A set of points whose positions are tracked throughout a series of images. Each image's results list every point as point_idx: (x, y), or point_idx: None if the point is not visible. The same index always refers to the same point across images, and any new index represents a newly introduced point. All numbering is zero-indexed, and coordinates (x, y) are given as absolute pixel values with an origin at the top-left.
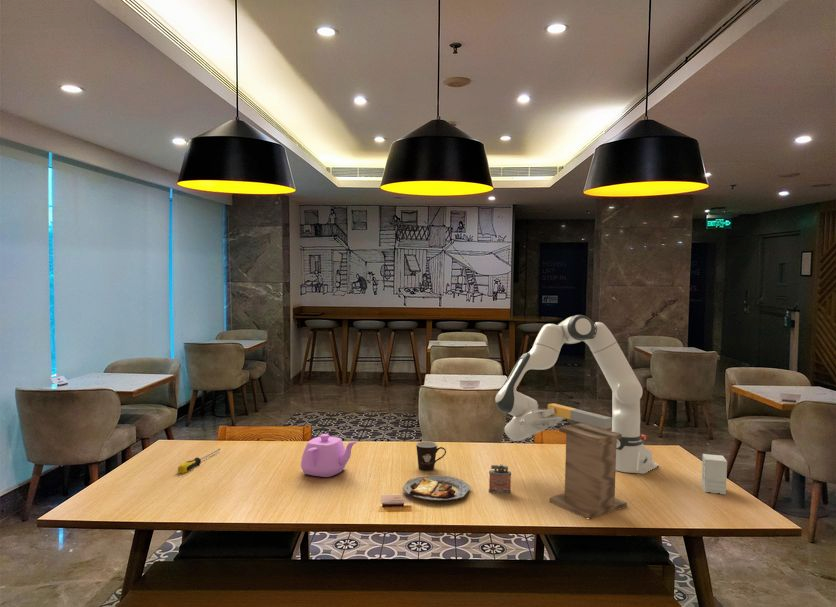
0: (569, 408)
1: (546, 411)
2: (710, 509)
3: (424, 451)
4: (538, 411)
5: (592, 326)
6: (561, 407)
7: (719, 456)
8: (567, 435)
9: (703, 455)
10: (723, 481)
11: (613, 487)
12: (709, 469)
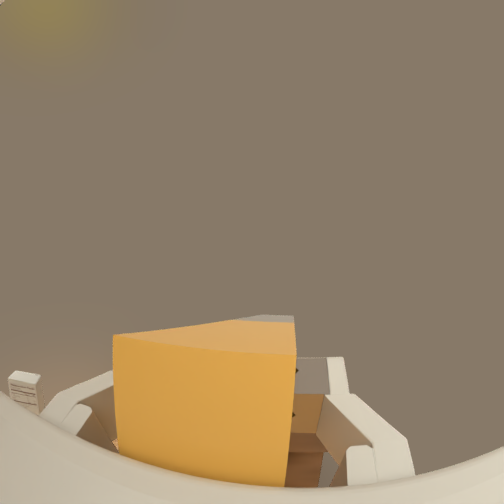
0: (259, 323)
1: (381, 429)
2: (116, 443)
3: None
4: (492, 451)
5: (1, 3)
6: (284, 327)
7: (20, 372)
8: (322, 452)
9: (15, 380)
10: (44, 406)
11: None
12: (39, 397)
